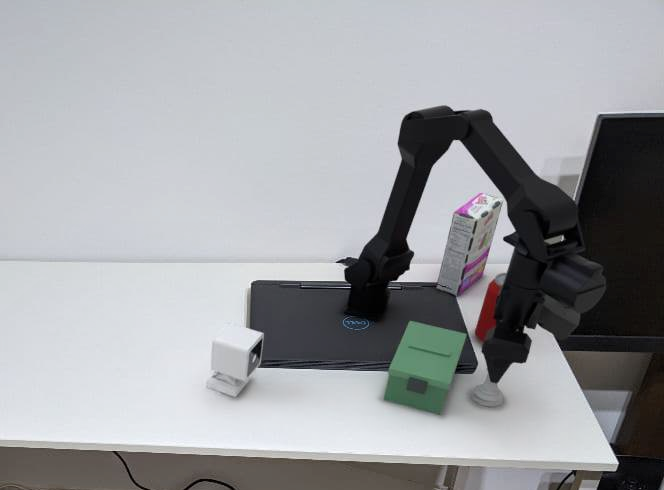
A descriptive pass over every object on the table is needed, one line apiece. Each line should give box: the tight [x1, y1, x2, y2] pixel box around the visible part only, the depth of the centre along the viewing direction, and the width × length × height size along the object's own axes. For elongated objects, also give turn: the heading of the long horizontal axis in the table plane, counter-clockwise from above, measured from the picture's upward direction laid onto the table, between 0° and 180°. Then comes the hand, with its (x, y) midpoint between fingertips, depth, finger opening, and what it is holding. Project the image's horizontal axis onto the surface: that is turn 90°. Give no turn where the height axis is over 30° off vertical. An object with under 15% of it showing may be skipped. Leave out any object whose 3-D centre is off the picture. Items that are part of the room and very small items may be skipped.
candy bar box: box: [435, 192, 504, 297], centre depth 162 cm, size 11×5×16 cm, turn 137°
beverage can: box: [474, 272, 507, 343], centre depth 148 cm, size 7×7×12 cm
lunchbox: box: [383, 320, 468, 416], centre depth 140 cm, size 9×16×7 cm, turn 153°
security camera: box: [205, 322, 265, 397], centre depth 138 cm, size 6×7×10 cm
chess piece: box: [470, 367, 503, 408], centre depth 135 cm, size 5×5×8 cm
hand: (498, 366), depth 134 cm, fingers open, 9 cm apart
